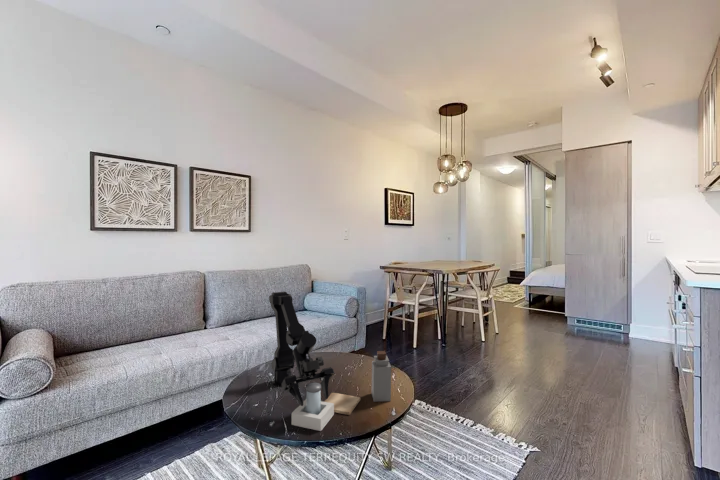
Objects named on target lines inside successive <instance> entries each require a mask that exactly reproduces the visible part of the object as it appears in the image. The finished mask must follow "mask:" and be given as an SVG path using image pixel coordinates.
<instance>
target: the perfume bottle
mask: <svg viewBox="0 0 720 480" xmlns="http://www.w3.org/2000/svg"><path fill="white" fill-rule="evenodd" d="M373 358H374V360H372V361H371V397H372V400H373V403H374V402H391V400H392V398H391V397H392V394H391V393H392V366H391V363H390V359H389V358H388V355H387V352H386V351H385V350H378V351H376V355H373Z"/></svg>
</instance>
